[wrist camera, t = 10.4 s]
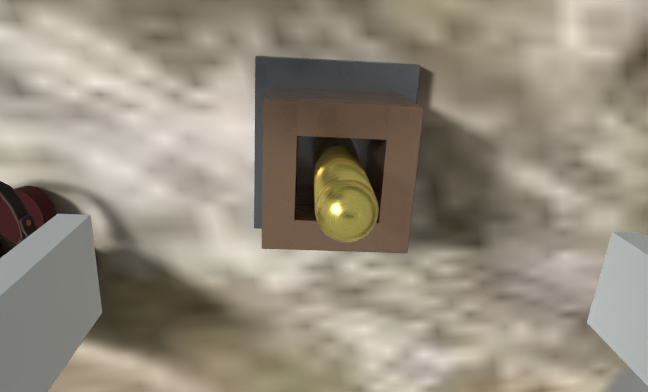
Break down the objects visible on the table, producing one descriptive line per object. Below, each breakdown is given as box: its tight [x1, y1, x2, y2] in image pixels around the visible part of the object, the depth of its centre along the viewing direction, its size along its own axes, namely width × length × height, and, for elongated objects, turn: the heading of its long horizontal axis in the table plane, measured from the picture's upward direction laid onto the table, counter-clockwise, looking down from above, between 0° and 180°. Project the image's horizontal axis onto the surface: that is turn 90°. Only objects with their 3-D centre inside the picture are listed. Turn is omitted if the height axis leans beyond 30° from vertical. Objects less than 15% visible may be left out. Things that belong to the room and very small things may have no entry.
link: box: [262, 87, 424, 253], centre depth 24 cm, size 7×7×6 cm
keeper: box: [254, 56, 420, 242], centre depth 22 cm, size 10×9×12 cm
